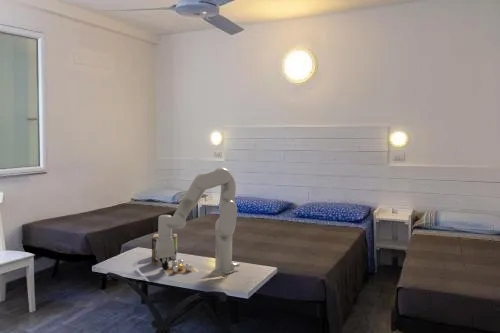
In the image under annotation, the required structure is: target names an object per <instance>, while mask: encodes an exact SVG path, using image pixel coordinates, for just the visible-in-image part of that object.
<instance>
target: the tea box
mask: <svg viewBox="0 0 500 333" xmlns="http://www.w3.org/2000/svg"><path fill="white" fill-rule="evenodd" d="M173 234H174V237H172V239H173V242H174V251H175V254H174V257H175V258H173V259H172V260H177V257H178V233H173ZM152 238H158V233H154V234H153V236H152V237H151V239H152Z"/></svg>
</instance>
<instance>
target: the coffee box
mask: <svg viewBox="0 0 500 333" xmlns="http://www.w3.org/2000/svg"><path fill="white" fill-rule="evenodd" d="M157 239H158V238H152V237H151V263H152V264H153V265H154V266H157V267H162V262H161V261H160V260H156V259H155V258H156V256H155V248H156V241H157ZM165 259H166V258H164V260H165Z"/></svg>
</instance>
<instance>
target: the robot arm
mask: <svg viewBox="0 0 500 333" xmlns="http://www.w3.org/2000/svg"><path fill="white" fill-rule="evenodd" d="M236 185H237V184H236V181H235V178H234V176H233V175H232V173H231V172H230V171H229V170H228V169H227V168H225V167H223V166H222V167H217V168H216V169H215V170H214V171H211V172H208V173H199V174H197V175H196V176H195V178H194V179H193V181H192V182H191V184H190V186H189V188H188V190H187V191H186V192H185V195H184V196H183V198H182V200H181V202H180V204H178V206H177V208H176V210H175V212H174V213H173V216H172V215H170V214H161V215H159V216H158V219H157V220H158V221H157V222H158V224H157V226H158V227H157V229H158V231H157V232H158V233H157V234H158V239H157V241H156V248H155V256H156V258H155V259H156V260H160V261H161V262H162V266H161V269H162V270H163V271H165V270H167V268H168V262H169V263H170V261H171V260H174V259H173V258H175V257H174V254H175V251H174V242H173V239H172V237H174V234H175V233H173V229H175V230H176V229H177V230H181V229H184V227H186V225H187V218H188V216H189V215H190V213H191V211H192V210H193V208H195V207H196V206H197V205H198V204H199V202H200V200H201V199H202V196H203V195H204V194H205V192H206V190H210V189H212V188H216V187H218V186H220V194H219V203H218V211H219V217H218V219H217V220H216V221H215V225H214V226H215V228H214V229H215V254H214V255H215V257H214V258H215V260H214V261H215V262H214V263H215V264H214V265H215V267H213V268H212V271H214V272H216V273H222V274H223V275H227V274H228V275H230V274H232V272H233V273H234V272H235V268H239V267H240V266H241V265H240V263H236V262H233V261H232V260H233V234H234V233H235V229H236V224H237V217H238V206H237V204H236V202H235V200H236V192H237V190H236V187H237V186H236ZM164 258H166V259H165V260H164ZM229 273H230V274H229Z"/></svg>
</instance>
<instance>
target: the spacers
mask: <svg viewBox="0 0 500 333" xmlns="http://www.w3.org/2000/svg"><path fill="white" fill-rule="evenodd" d="M175 264H183V267H184V265H186V272H191V265H192V264H191V263H187V264H185V262H184V258H183V259H182V258H180V259H178V260H177V259H172V261H171V267H172V273H173V274H176V275H178V274H177V273H178V265H175ZM169 267H170V261H169V262H168V268H167V269H169ZM191 273H192V272H191Z"/></svg>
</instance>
